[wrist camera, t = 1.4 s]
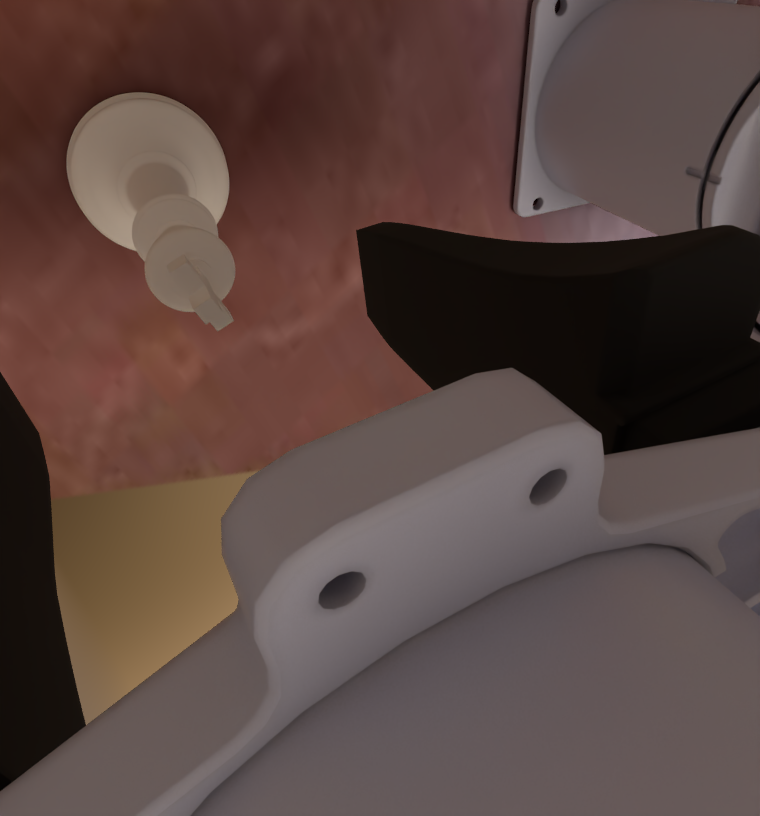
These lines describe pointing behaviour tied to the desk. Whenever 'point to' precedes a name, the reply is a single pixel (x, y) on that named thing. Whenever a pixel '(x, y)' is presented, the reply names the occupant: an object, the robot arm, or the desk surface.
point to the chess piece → (158, 196)
